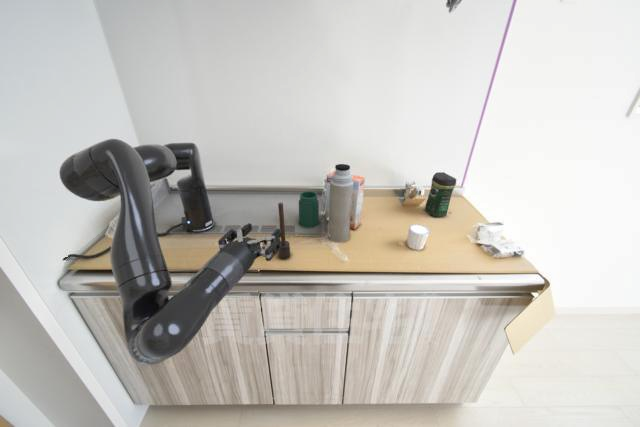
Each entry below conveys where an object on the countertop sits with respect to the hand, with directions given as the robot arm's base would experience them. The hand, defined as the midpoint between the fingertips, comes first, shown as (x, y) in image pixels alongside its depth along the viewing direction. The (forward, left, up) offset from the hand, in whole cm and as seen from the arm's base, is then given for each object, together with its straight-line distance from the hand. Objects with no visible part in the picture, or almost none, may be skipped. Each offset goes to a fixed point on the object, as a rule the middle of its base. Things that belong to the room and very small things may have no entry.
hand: (264, 228), depth 65 cm
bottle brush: (+7, +7, -17) cm, 20 cm away
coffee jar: (+80, +5, -17) cm, 83 cm away
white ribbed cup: (+52, -9, -17) cm, 56 cm away
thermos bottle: (+30, +9, -17) cm, 36 cm away
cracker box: (+37, +17, -17) cm, 45 cm away
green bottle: (+24, +23, -17) cm, 38 cm away
